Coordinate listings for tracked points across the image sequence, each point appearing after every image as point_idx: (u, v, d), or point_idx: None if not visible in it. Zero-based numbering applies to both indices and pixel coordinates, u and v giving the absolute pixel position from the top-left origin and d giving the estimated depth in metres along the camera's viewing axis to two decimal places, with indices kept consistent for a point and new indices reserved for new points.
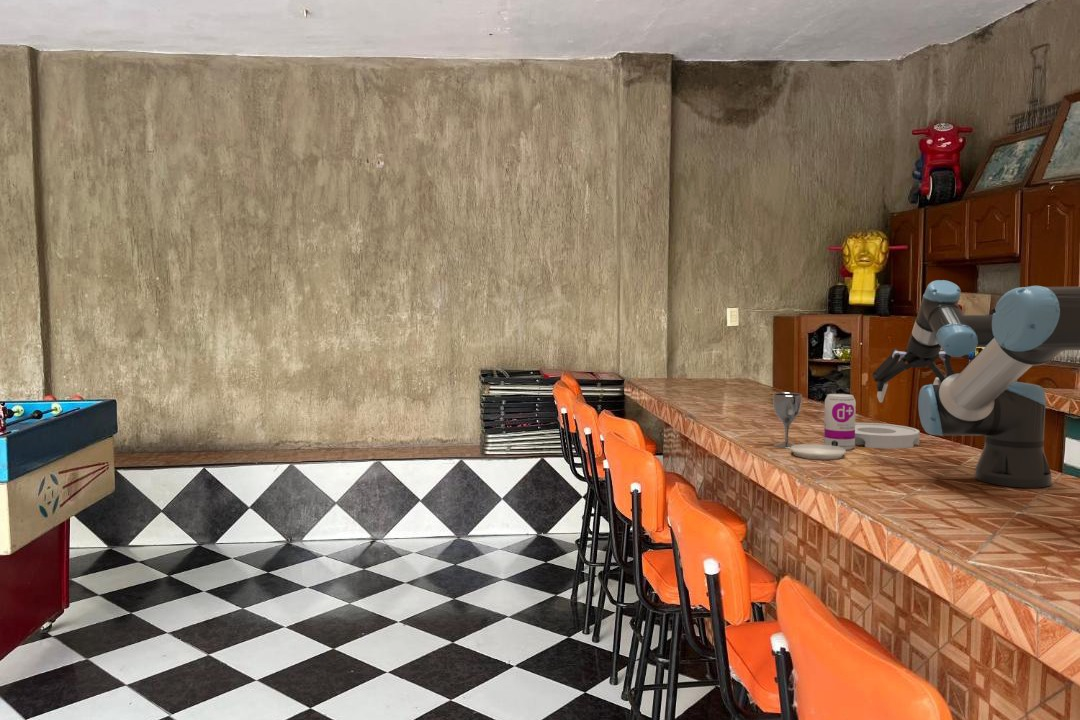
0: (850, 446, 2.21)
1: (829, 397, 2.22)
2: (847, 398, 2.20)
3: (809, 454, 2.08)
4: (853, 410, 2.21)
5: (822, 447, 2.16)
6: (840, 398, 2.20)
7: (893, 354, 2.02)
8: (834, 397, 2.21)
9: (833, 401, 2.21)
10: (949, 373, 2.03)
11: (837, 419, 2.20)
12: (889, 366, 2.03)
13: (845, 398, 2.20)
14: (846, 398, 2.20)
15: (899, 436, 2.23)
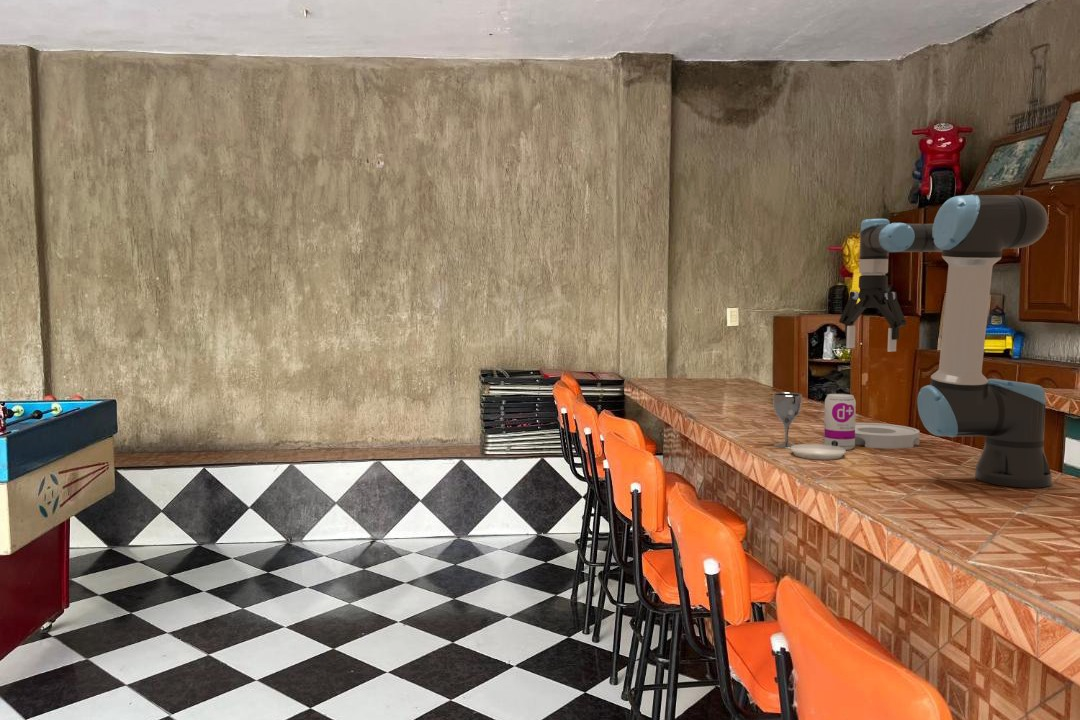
0: (850, 446, 2.21)
1: (829, 397, 2.22)
2: (847, 398, 2.20)
3: (809, 454, 2.08)
4: (853, 410, 2.21)
5: (822, 447, 2.16)
6: (840, 398, 2.20)
7: None
8: (834, 397, 2.21)
9: (833, 401, 2.21)
10: (894, 315, 2.17)
11: (837, 419, 2.20)
12: (847, 305, 2.30)
13: (845, 398, 2.20)
14: (846, 398, 2.20)
15: (899, 436, 2.23)
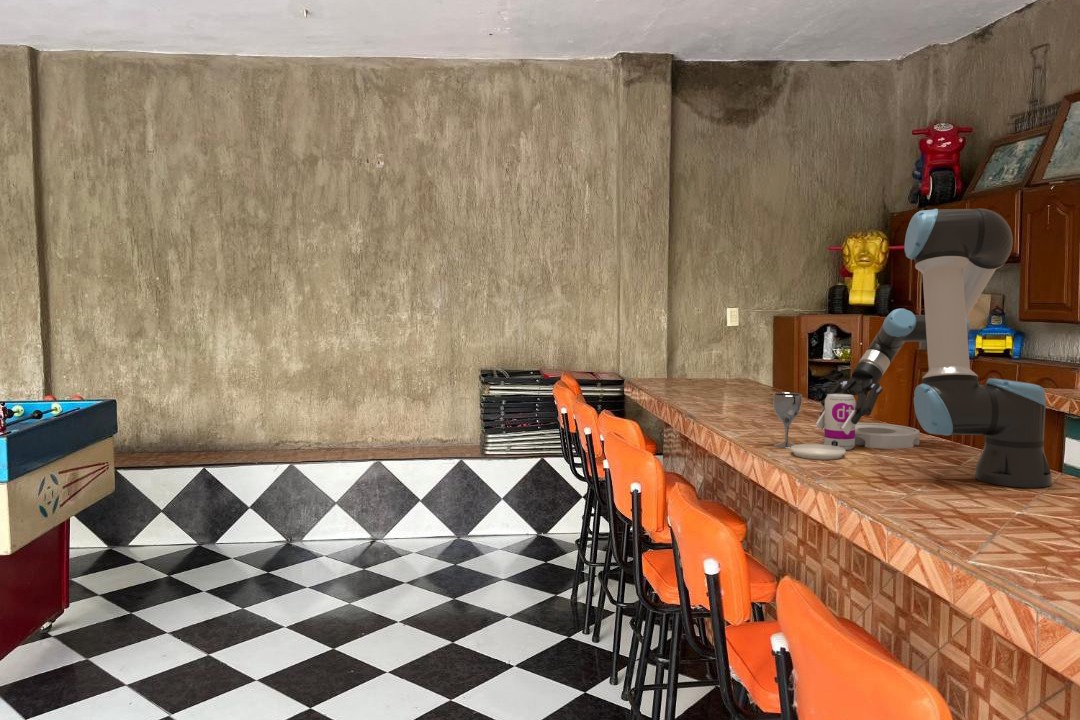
0: (850, 446, 2.21)
1: (829, 397, 2.22)
2: (847, 398, 2.20)
3: (809, 454, 2.08)
4: None
5: (822, 447, 2.16)
6: (840, 398, 2.20)
7: None
8: (834, 397, 2.21)
9: (833, 401, 2.21)
10: (867, 400, 2.20)
11: (837, 419, 2.20)
12: (833, 389, 2.31)
13: (845, 398, 2.20)
14: (846, 398, 2.20)
15: (899, 436, 2.23)
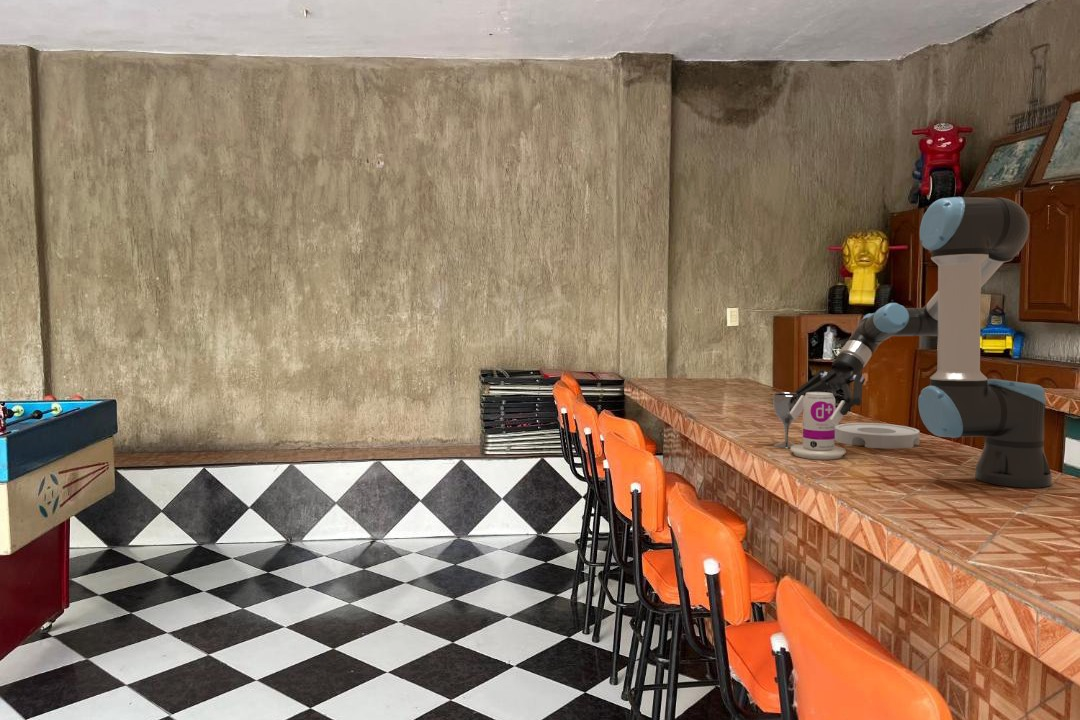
0: (830, 447, 2.10)
1: (808, 395, 2.12)
2: (826, 396, 2.09)
3: (809, 454, 2.08)
4: (833, 409, 2.10)
5: None
6: (819, 396, 2.10)
7: None
8: (813, 395, 2.10)
9: (812, 399, 2.10)
10: (854, 391, 2.08)
11: (816, 418, 2.10)
12: (811, 379, 2.22)
13: (824, 396, 2.09)
14: (825, 396, 2.09)
15: (899, 436, 2.23)
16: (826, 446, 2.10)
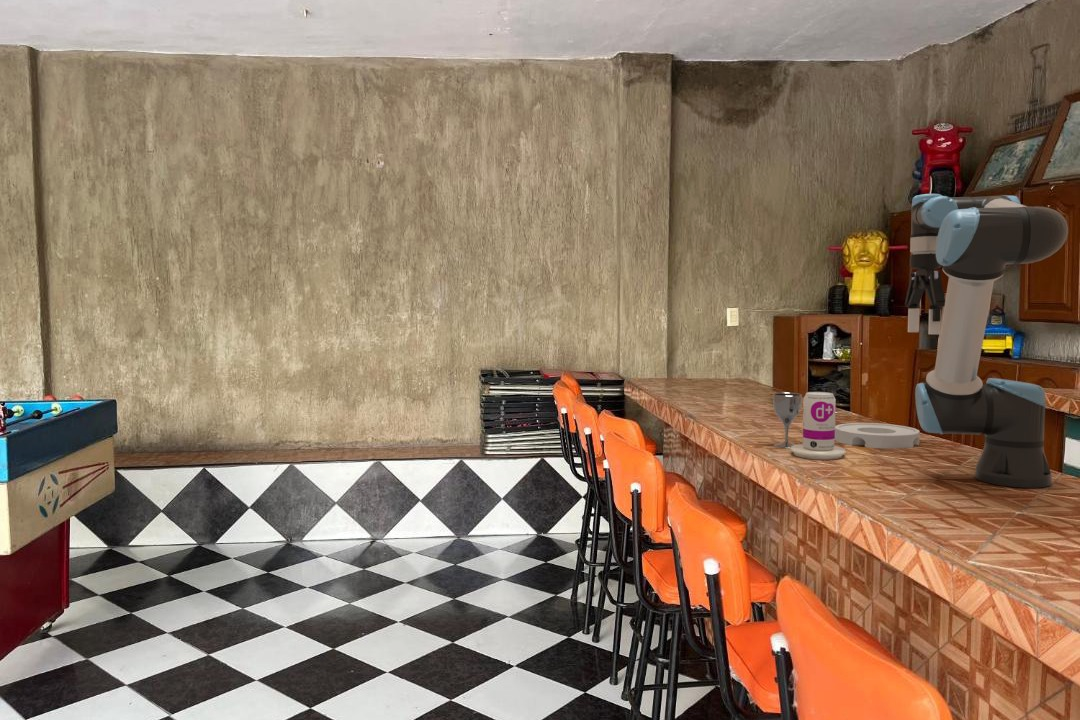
0: (830, 447, 2.10)
1: (808, 395, 2.12)
2: (826, 396, 2.09)
3: (809, 454, 2.08)
4: (833, 409, 2.10)
5: None
6: (819, 396, 2.09)
7: None
8: (813, 395, 2.10)
9: (812, 400, 2.10)
10: (932, 295, 2.04)
11: (816, 418, 2.10)
12: (909, 286, 2.19)
13: (824, 396, 2.09)
14: (825, 396, 2.09)
15: (899, 436, 2.23)
16: (826, 446, 2.10)
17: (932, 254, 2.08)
